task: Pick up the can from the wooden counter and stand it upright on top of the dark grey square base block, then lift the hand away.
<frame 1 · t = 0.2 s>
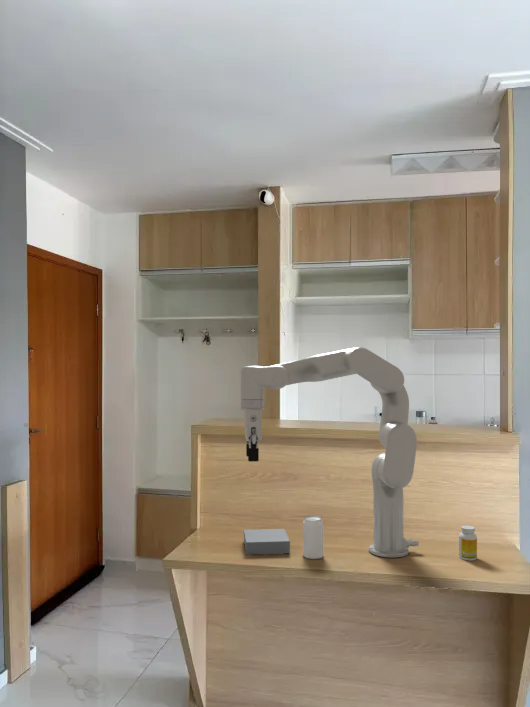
hand: (252, 458, 183), 31 cm above the countertop, tool pointing down, fingers open, 9 cm apart
can: (313, 556, 182), on the countertop
supplement bottle: (468, 558, 181), on the countertop
base block: (266, 547, 191), on the countertop
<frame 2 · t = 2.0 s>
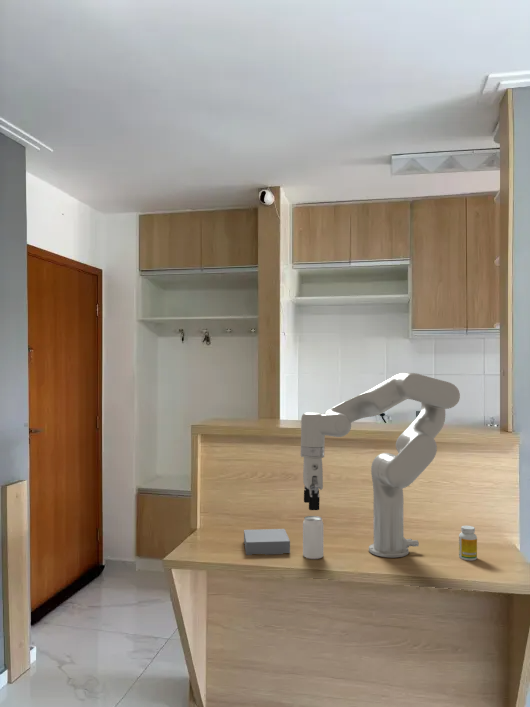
hand: (311, 506, 182), 16 cm above the countertop, tool pointing down, fingers open, 9 cm apart
nothing on the countertop moved.
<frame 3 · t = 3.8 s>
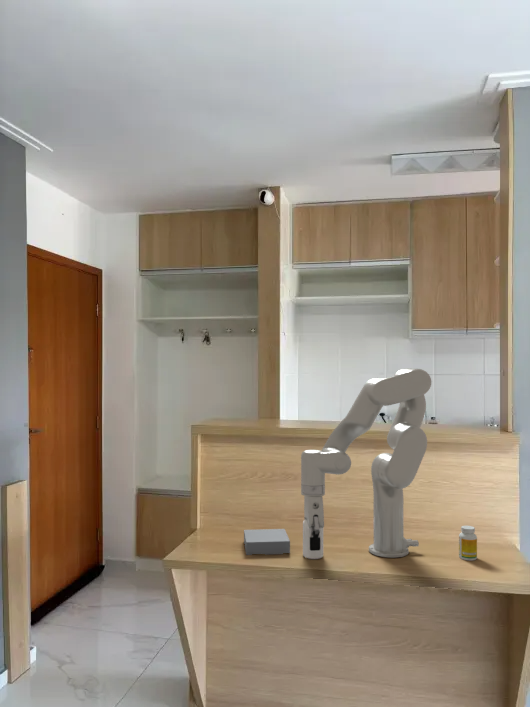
hand: (313, 546, 182), 3 cm above the countertop, tool pointing down, fingers closed on can, 6 cm apart
can: (313, 556, 182), on the countertop, touching gripper
everything else where it was.
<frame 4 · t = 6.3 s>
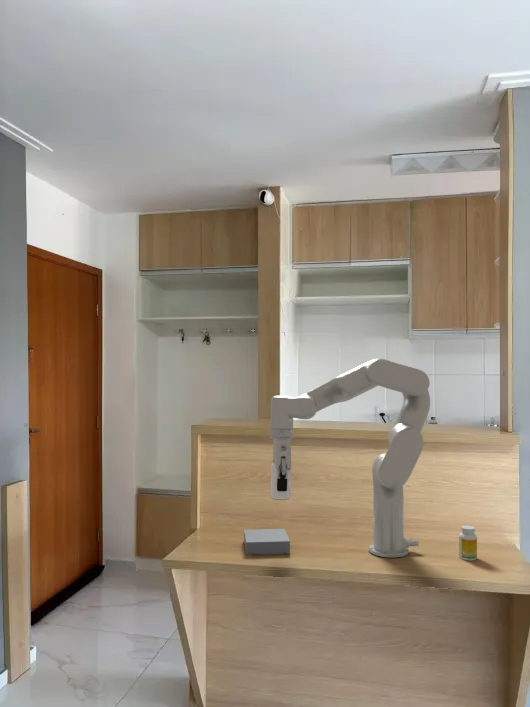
hand: (280, 488, 188), 20 cm above the countertop, tool pointing down, fingers closed on can, 6 cm apart
can: (280, 498, 188), point 17 cm above the countertop, touching gripper
everything else where it was.
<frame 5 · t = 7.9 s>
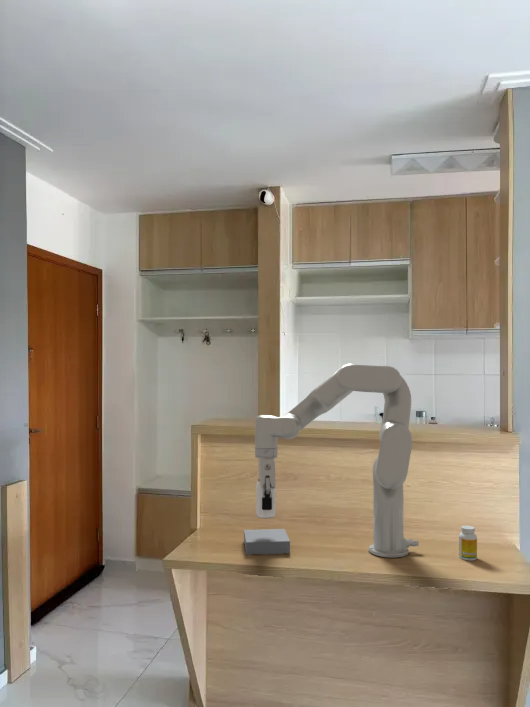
hand: (265, 506, 191), 14 cm above the countertop, tool pointing down, fingers closed on can, 6 cm apart
can: (265, 516, 191), point 10 cm above the countertop, touching gripper
everything else where it was.
when the fingers open (9 cm above the countertop, at t = 9.2 s): can drops 2 cm, resting on base block.
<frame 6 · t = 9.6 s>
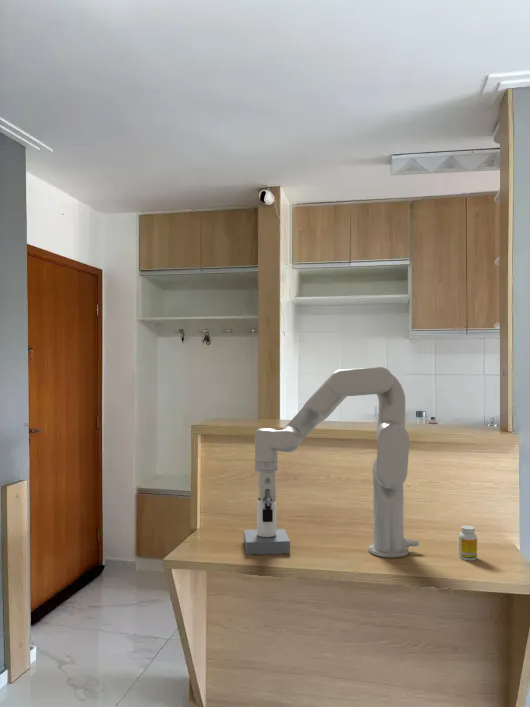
hand: (266, 517, 191), 10 cm above the countertop, tool pointing down, fingers open, 9 cm apart
can: (266, 535, 191), point 4 cm above the countertop, touching base block
everything else where it was.
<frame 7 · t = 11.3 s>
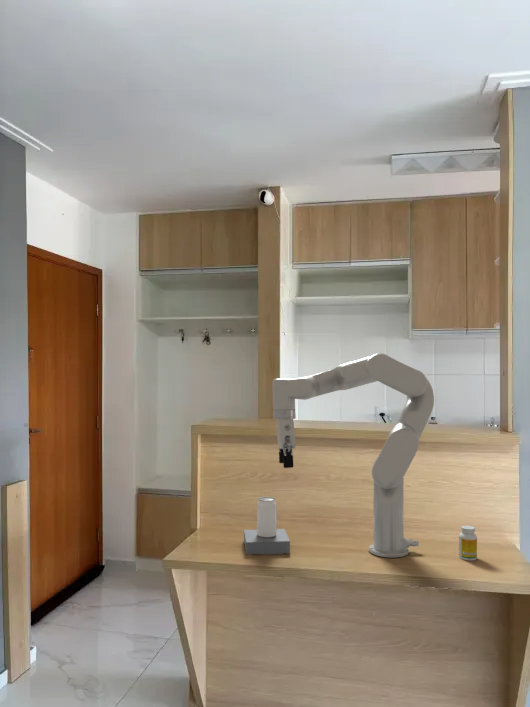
hand: (286, 465, 195), 26 cm above the countertop, tool pointing down, fingers open, 9 cm apart
nothing on the countertop moved.
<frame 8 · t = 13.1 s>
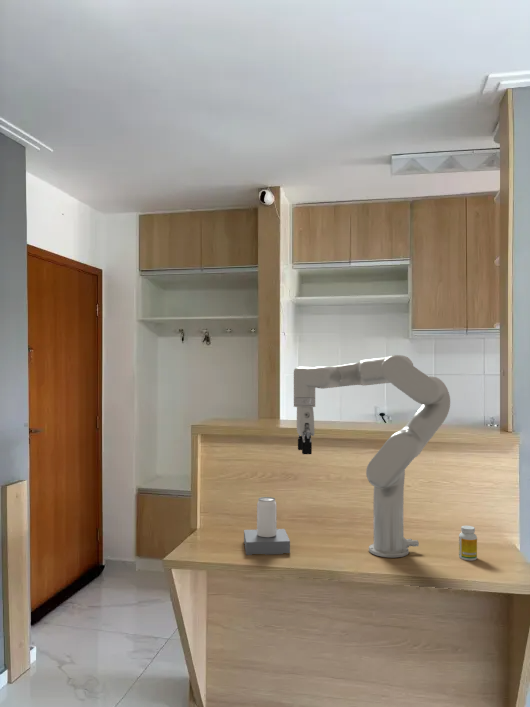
hand: (304, 451, 200), 30 cm above the countertop, tool pointing down, fingers open, 9 cm apart
nothing on the countertop moved.
at the end: can inside the target area on the base block (0.2 cm from its centre), point 3.8 cm above the base block's base; can tilted 0°; the gripper is holding nothing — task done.
